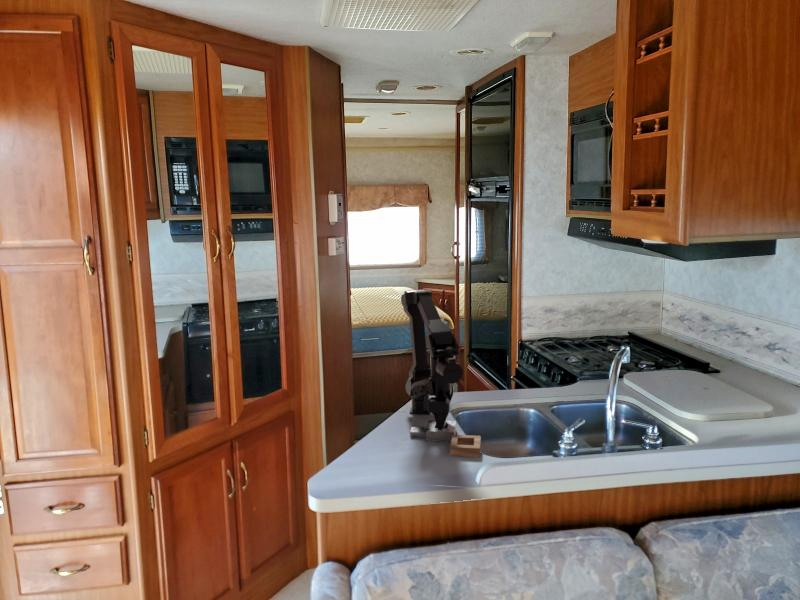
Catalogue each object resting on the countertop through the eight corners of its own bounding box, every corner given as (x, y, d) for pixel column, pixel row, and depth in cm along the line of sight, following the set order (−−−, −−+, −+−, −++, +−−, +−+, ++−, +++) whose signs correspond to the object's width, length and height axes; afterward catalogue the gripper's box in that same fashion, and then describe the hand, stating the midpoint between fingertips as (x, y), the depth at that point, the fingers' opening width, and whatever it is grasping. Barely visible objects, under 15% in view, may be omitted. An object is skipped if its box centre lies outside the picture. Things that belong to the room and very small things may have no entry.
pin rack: (452, 442, 172) (452, 434, 172) (480, 444, 171) (480, 435, 171) (450, 455, 165) (450, 447, 164) (479, 457, 163) (479, 448, 163)
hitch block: (413, 428, 183) (412, 419, 182) (456, 430, 180) (456, 421, 180) (409, 440, 175) (408, 430, 174) (454, 442, 173) (454, 432, 172)
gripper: (417, 361, 184) (418, 410, 187) (408, 382, 166) (409, 435, 169) (453, 362, 182) (454, 411, 185) (448, 383, 164) (449, 437, 167)
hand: (441, 423), depth 176 cm, fingers open, 9 cm apart
